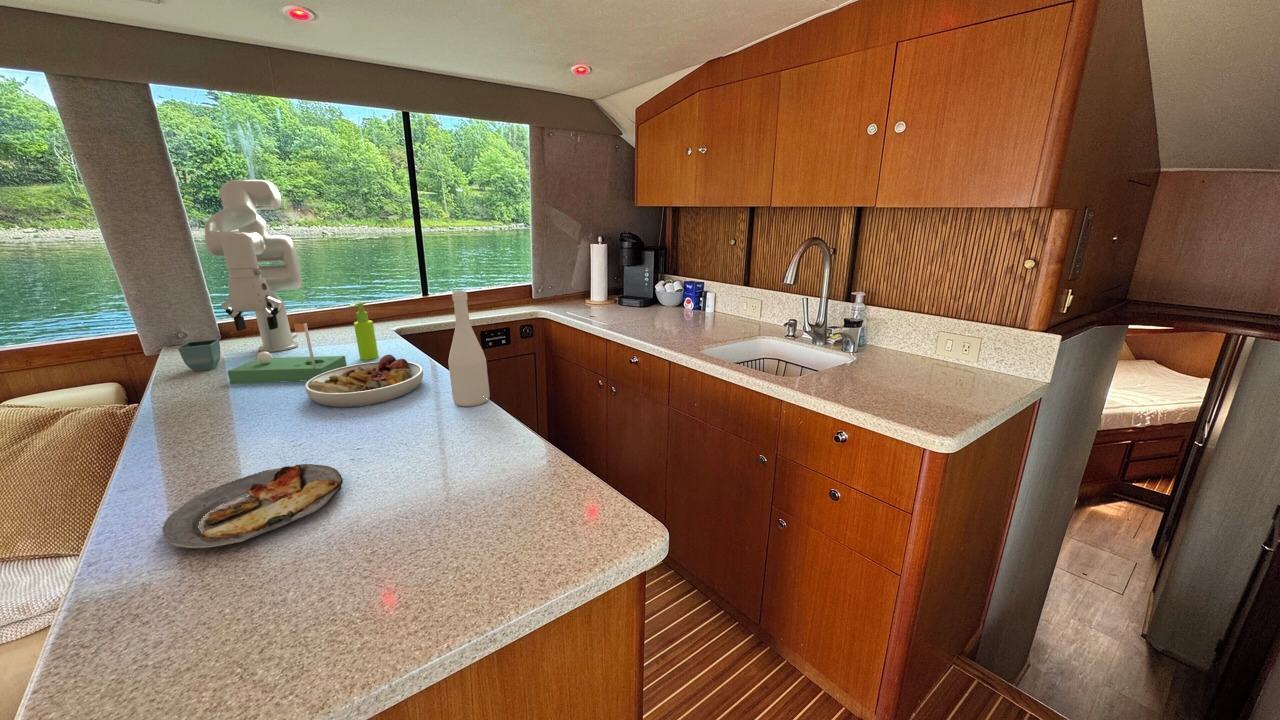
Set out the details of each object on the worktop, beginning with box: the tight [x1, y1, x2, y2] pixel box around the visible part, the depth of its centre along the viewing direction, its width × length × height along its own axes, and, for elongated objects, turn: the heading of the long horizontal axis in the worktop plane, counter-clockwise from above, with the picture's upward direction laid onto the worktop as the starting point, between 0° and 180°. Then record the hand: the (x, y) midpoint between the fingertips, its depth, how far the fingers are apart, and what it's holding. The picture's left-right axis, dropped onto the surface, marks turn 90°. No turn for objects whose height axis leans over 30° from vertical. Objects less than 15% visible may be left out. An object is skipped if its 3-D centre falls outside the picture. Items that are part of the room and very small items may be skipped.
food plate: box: [162, 463, 344, 549], centre depth 86 cm, size 25×23×4 cm
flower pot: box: [177, 339, 221, 372], centre depth 167 cm, size 9×9×9 cm
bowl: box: [304, 354, 424, 408], centre depth 144 cm, size 30×30×8 cm
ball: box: [256, 351, 274, 364], centre depth 158 cm, size 4×4×4 cm
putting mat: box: [227, 323, 348, 384], centre depth 158 cm, size 14×28×18 cm, turn 93°
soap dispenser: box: [348, 301, 379, 361], centre depth 175 cm, size 6×7×20 cm
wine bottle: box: [447, 290, 491, 408], centre depth 131 cm, size 10×10×30 cm
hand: (257, 329), depth 155 cm, fingers open, 9 cm apart
